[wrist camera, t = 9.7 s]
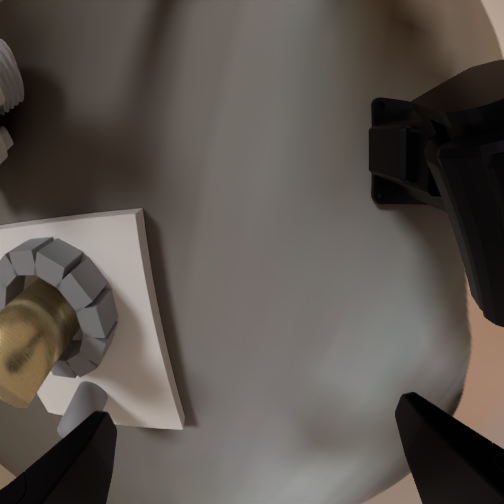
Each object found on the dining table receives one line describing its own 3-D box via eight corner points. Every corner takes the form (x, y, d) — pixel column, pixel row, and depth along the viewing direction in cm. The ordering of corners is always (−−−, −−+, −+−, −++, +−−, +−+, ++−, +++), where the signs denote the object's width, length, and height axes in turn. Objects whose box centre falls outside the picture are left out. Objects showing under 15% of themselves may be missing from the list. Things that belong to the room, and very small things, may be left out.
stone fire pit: (142, 208, 18) (98, 242, 12) (185, 416, 24) (176, 477, 18) (-13, 227, 17) (-68, 257, 11) (53, 402, 23) (29, 448, 17)
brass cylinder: (76, 271, 17) (6, 344, 10) (93, 332, 19) (44, 414, 11) (26, 273, 17) (-44, 334, 10) (44, 329, 19) (-10, 399, 11)
